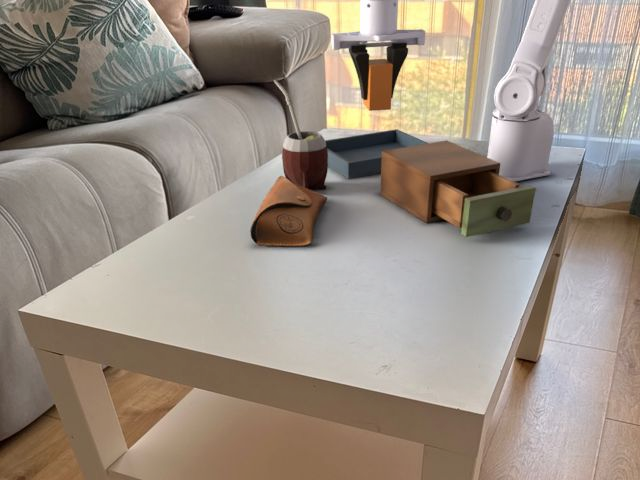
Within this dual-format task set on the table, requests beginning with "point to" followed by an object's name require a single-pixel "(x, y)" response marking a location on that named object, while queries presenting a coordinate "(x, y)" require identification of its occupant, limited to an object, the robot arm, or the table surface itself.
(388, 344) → the table surface
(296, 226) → the sunglasses case
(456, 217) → the drawer
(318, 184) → the mate gourd
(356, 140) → the tray
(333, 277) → the table surface
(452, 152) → the cabinet
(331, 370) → the table surface
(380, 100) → the orange wooden block
